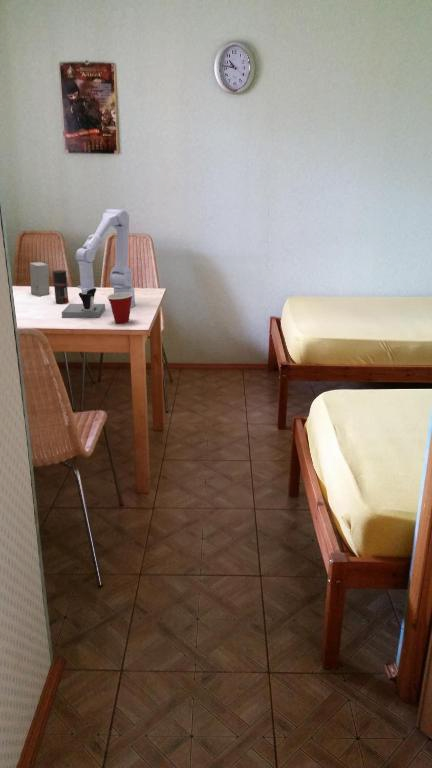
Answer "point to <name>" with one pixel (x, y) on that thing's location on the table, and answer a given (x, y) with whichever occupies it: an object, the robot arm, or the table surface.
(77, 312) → the outlet plate
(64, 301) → the deodorant
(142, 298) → the table surface
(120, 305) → the plastic cup
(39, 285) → the skincare box
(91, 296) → the beige rectangular block
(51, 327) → the table surface
